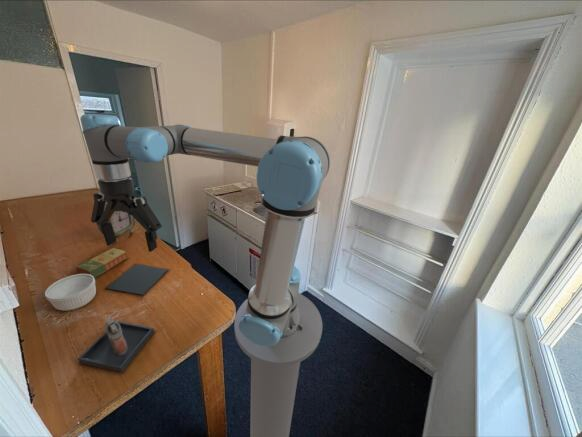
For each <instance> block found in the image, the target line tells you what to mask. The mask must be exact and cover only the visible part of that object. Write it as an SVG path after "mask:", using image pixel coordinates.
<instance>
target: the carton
mask: <svg viewBox="0 0 582 437" xmlns="http://www.w3.org/2000/svg"><path fill="white" fill-rule="evenodd" d="M127 259H128V254H127V252H126V251H125V250H123V249H119V248H116V247H110V248H109V249H107V250H105V251H103V252H101V253H99V254H98V255H96V256H93V257H91V258H89V259H88V260H85V261H84V262H81V263H80V264H78V265H76V266H75V268H76V274H90V275H92V276H93V277H94V279H95V278H97V277H99V276H100V275H102V274H104V273H105V272H107V271H109V270H110V269H112V268H114V267H115V266H117V265H119V264H120V263H123V261H125V260H127Z"/></svg>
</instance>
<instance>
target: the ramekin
mask: <svg viewBox="0 0 582 437" xmlns="http://www.w3.org/2000/svg"><path fill="white" fill-rule="evenodd" d="M96 294H97V286H96V279H95V278H94V277H93V276H92V275H90V274H78V273H76V274H72V275H69V276H66V277H63V278H60V279H58V280H57V281H55V282H53V283H52V284H50V285H49V286H48V287H47V288H46V290H45V291H44V296H45V298H46V300H47V301H49V302H50V304H51V305H52V306H53V307H54V309H56V310H58V311H64V312H65V311H73V310H77V309H79V308H82V307H84V306H86V305H87V304H89V303H90V302H91V301H92V300H93V299H94V298H95V297H96Z"/></svg>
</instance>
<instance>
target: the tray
mask: <svg viewBox="0 0 582 437" xmlns="http://www.w3.org/2000/svg"><path fill="white" fill-rule="evenodd" d="M117 321H118V322H119V324H120V326H121V329H122V334H123V337H124V339H125V340H126V343H127V348H128V351H127V352H126V353H125V354H124V355H121V356H118V355H117V354H116V353H115V352H114V350H113V348H112V345H111V342H110V340H109V337H108V335H107V332H106V331H104V332H103V334H101V335H100V336H99V337H98V339H97V340H96V341H94V342H93V344H91V345H90V346H89V347H88V348H87V349H86V350H85V351H84V352H83V353H82V354H81V355H80V356H79V357H78V358H77V360H78V362H79V364H82V365H86V366H91V367H95V368H101V369H103V370H104V369H105V370H110V371H114V372H119V373H124V371H125V370H126V369H127V368H128V366H129V365H130V363H132V361H133V360H134V358H136V356H137V355H138V354H139V352H140V351H141V350H142V349H143V347H144V346H145V344H146V343H147V342H148V341H149V340H150V338H151V337H152V336H153V335H154V334H155V330H154V327H150V326H147V325H146V326H145V325H141V324H135V323H130V322H125V321H119V320H117Z"/></svg>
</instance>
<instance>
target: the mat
mask: <svg viewBox="0 0 582 437" xmlns="http://www.w3.org/2000/svg"><path fill="white" fill-rule="evenodd" d="M167 272H169V269H167V268H163V267H162V268H161V267H157V266H156V267H155V266H149V265H143V264H138V263H135V264H134V265H132V266H131V267H130V268H128V270H125V272H124V273H122V274H121V275H120V276H118V278H116V279H114V280H113V281H112V282H111V283H110V284H108V285H107V286H105V290H110V291H115V292H120V293H124V294H125V293H126V294H132V295H137V296H144V295H145V294H146V293H147V292H148V291H149V290H150V289H151V288H153V287H154V285H156V283H158V281H160V279H161V278H162V277H164V276H165V275H166V274H167Z"/></svg>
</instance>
